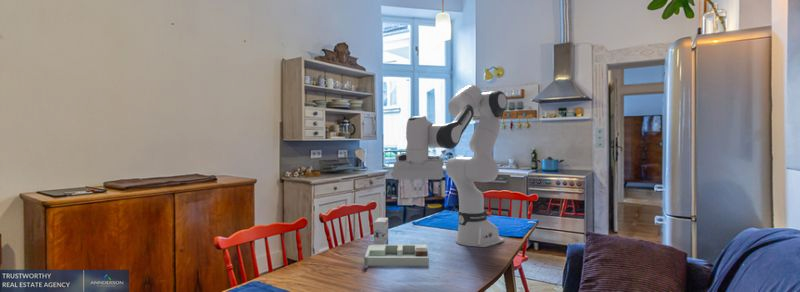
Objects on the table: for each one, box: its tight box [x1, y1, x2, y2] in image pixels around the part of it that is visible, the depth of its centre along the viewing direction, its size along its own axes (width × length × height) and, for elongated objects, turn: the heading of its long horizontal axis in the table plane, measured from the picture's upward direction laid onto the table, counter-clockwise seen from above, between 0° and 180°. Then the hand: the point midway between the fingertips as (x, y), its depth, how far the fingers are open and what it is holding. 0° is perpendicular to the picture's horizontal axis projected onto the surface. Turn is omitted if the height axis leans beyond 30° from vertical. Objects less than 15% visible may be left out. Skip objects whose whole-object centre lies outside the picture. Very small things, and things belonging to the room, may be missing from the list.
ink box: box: [373, 217, 389, 245], centre depth 173 cm, size 9×5×12 cm, turn 168°
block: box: [416, 247, 429, 257], centre depth 149 cm, size 4×4×4 cm
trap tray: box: [363, 244, 430, 269], centre depth 152 cm, size 24×17×4 cm
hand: (417, 190), depth 156 cm, fingers closed
